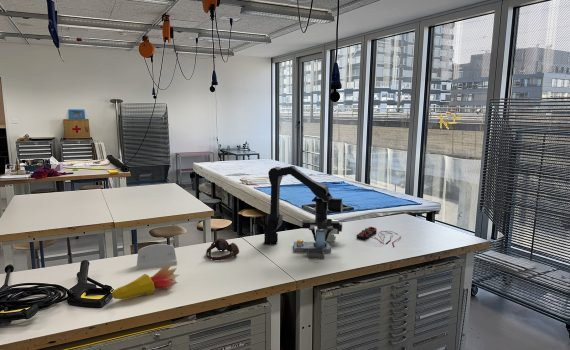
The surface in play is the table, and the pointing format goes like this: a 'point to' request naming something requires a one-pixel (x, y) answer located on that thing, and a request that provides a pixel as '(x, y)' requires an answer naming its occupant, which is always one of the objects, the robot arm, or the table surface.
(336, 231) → the pneumatic valve
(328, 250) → the housing
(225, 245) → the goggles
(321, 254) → the tray
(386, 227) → the table surface
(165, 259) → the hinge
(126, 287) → the torch
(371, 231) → the multimeter with leads
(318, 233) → the cartridge
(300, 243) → the plunger
